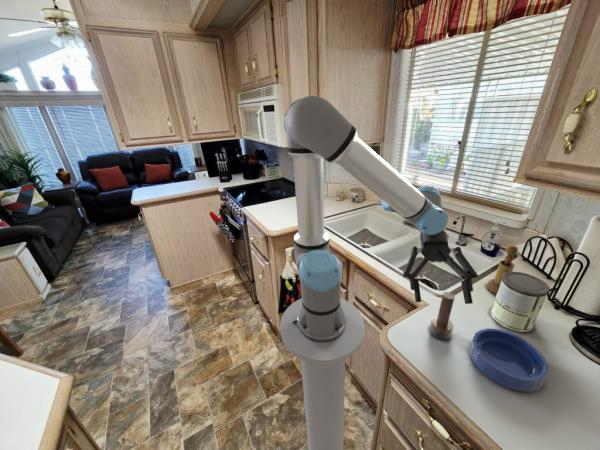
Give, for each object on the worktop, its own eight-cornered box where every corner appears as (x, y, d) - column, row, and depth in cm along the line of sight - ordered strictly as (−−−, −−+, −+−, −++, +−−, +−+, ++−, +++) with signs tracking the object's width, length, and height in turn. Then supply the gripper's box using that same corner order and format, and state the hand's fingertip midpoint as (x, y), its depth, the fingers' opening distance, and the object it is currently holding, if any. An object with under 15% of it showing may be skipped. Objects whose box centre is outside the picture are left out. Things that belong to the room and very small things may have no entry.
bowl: (487, 390, 58) (492, 377, 56) (459, 338, 71) (462, 327, 69) (558, 396, 56) (566, 383, 54) (516, 341, 69) (521, 330, 67)
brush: (433, 340, 71) (441, 302, 65) (426, 324, 76) (434, 288, 70) (454, 341, 70) (464, 303, 65) (446, 325, 75) (455, 289, 70)
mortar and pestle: (513, 291, 87) (530, 247, 80) (504, 298, 84) (520, 253, 77) (492, 281, 92) (506, 239, 85) (483, 288, 90) (496, 244, 82)
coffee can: (489, 302, 83) (501, 267, 77) (530, 314, 77) (546, 277, 72) (490, 323, 75) (503, 286, 69) (535, 337, 70) (554, 298, 64)
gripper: (394, 229, 77) (401, 300, 69) (481, 228, 73) (498, 303, 66) (389, 236, 84) (395, 301, 76) (469, 236, 80) (483, 304, 73)
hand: (443, 302), depth 71 cm, fingers open, 13 cm apart
